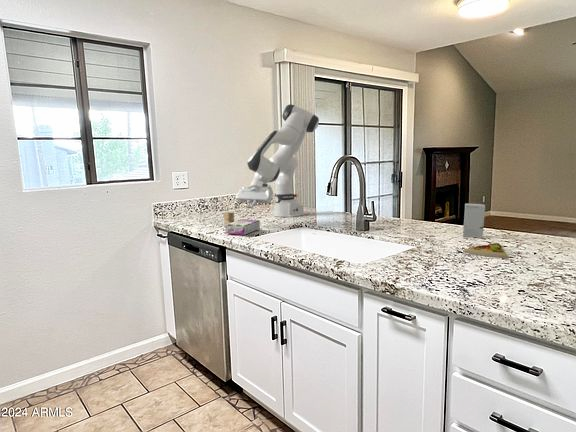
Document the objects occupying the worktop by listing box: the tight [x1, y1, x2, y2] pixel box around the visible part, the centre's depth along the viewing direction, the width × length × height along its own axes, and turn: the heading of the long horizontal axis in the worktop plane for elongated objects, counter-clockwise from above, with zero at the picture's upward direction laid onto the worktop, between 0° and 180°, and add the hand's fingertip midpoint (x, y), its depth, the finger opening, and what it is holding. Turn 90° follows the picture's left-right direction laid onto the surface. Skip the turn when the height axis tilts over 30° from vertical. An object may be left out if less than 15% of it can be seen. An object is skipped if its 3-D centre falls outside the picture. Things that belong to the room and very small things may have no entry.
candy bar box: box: [224, 218, 261, 236], centre depth 198 cm, size 11×5×16 cm
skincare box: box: [462, 203, 486, 239], centre depth 174 cm, size 8×6×15 cm
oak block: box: [223, 211, 235, 228], centre depth 215 cm, size 4×4×8 cm
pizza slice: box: [462, 242, 509, 259], centre depth 149 cm, size 16×21×3 cm
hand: (249, 207), depth 207 cm, fingers closed
